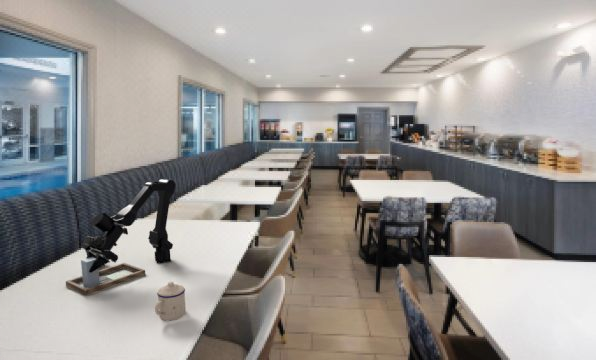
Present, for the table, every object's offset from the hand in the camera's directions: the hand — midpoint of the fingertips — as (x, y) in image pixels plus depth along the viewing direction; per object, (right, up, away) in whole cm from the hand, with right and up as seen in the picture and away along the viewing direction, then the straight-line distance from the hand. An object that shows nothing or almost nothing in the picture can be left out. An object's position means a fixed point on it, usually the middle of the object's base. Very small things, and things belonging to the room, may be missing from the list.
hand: (86, 270), depth 159 cm
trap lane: (+5, -5, +8) cm, 11 cm away
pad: (+7, -5, +11) cm, 14 cm away
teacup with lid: (+42, -10, -25) cm, 50 cm away
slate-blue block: (+1, -6, +2) cm, 7 cm away
